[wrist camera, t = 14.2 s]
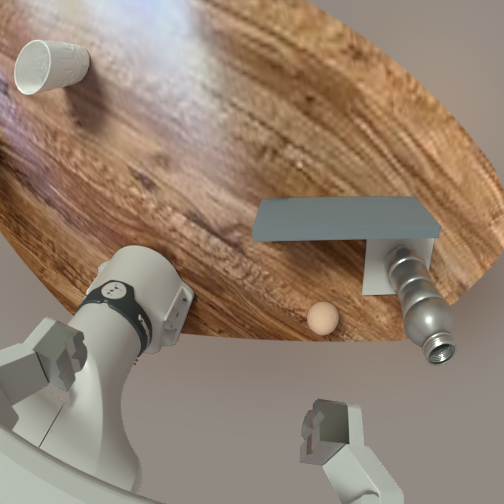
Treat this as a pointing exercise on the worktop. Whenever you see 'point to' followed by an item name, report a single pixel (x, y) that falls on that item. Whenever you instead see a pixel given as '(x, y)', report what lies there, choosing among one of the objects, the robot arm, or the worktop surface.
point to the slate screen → (343, 219)
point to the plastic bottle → (421, 305)
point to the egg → (323, 318)
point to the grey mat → (376, 257)
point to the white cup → (50, 66)
